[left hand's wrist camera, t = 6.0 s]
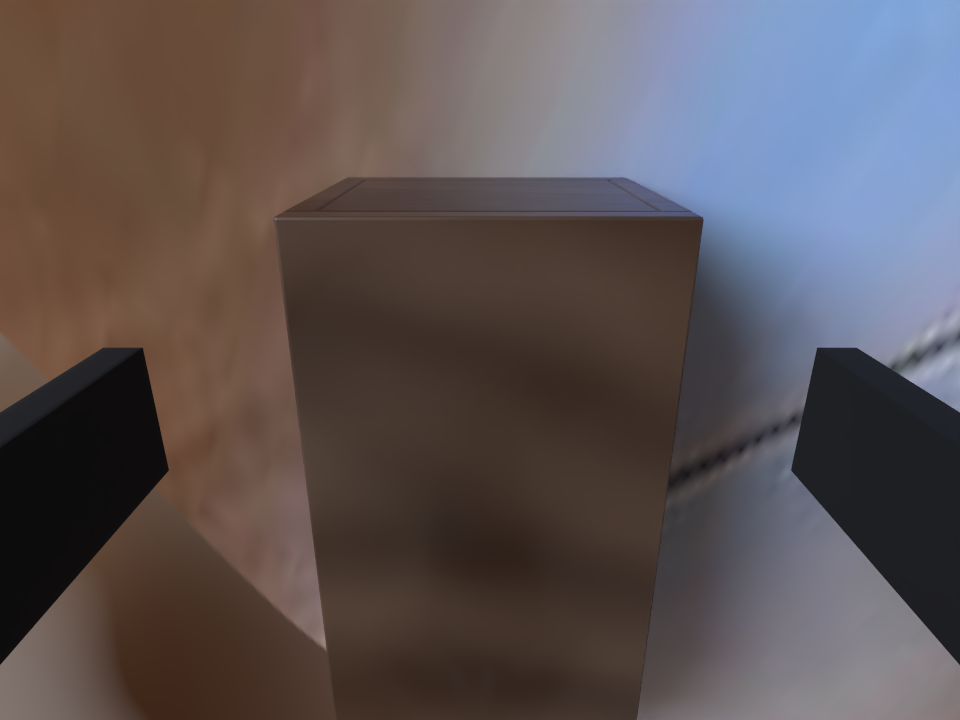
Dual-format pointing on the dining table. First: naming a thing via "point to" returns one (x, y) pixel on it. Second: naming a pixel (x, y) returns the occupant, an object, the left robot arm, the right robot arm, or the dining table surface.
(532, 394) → the cabinet
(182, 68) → the dining table surface
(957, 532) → the left robot arm
